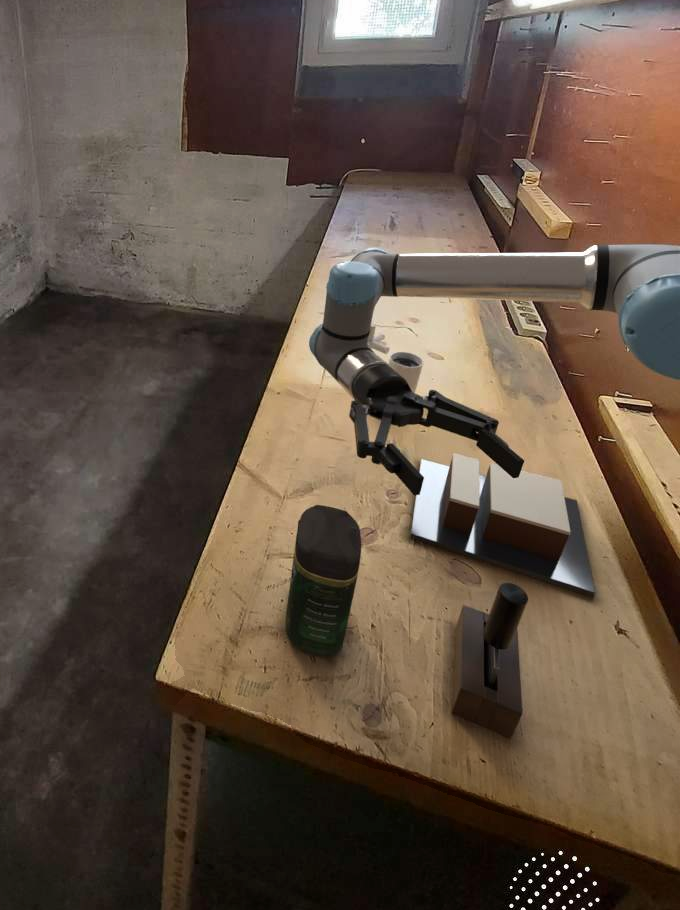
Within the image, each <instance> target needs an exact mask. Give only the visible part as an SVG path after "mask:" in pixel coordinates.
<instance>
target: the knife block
mask: <svg viewBox="0 0 680 910" xmlns="http://www.w3.org/2000/svg"><path fill="white" fill-rule="evenodd" d="M489 614H490V613H487V612H484V611H482V610H479V609H476V608H473V607H470V606H468V605H465V604H463V605H462V607H461V610H460V613H459V616H458V619H457V622H456V625H455V629H454V643H453V644H454V647H453V668H452V669H453V670H452V690H451V691H452V693H451V714H453V715H455V716H457V717H460V718H462V719H465V720H466V721H469V722H471V723H474V724H475V725H478V726H480V727H482V728H484V729H487V730H490V731H492V732H494V733H497V734H498V735H500V736H503V737H505V738H508V739H512V738H513V736H514V733H515V731H516V729H517V727H518V725H519V722H520V721H521V718H522V716H523V713H524V712H523V698H522V697H523V696H522V684H521V683H522V682H521V668H520V667H521V666H520V665H521V664H520V649H519V633H518V628H517V629H516V632H515V634H514V637H513V639H512V642H511V644H510V647H509V648H507V649H504V650H501V649H499V672H498V674H497V677H496V679H495V682H494V684H493V687H492V689H490V688H488V687H485V686H484V636H483V631H484V628H485V625H486V622H487V619H488V617H489Z"/></svg>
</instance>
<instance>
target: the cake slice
mask: <svg viewBox="0 0 680 910" xmlns="http://www.w3.org/2000/svg"><path fill="white" fill-rule="evenodd" d="M480 465H481V463H480V459H478V458H474V457H470V456H466V455H462V454H459V453H454V452H453V453H452V457H451V460H450V464H449V466H450V467H449V471H448V475H447V479H446V490H445V503H444V516H443V526H446V527H449V528H452V529H456V530H459V531H462V532H465V533H469V534H471V532H472V528H473V525H474V522H475V519H476V515H477V512H478V509H479V474H480Z"/></svg>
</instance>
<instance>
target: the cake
mask: <svg viewBox="0 0 680 910" xmlns="http://www.w3.org/2000/svg"><path fill="white" fill-rule="evenodd" d="M485 476H486V479H485V482H484V485H483V488H482V538H485V539H488V540H491V541H495V542H498V543H501V544H504V545H508V546H511V547H514V548H517V549H521V550H524V551H527V552H530V553H534V554H537V555H540V556H543V557H547V558H550V559H553V560H556V561H559V559H560V557H561V554H562V552H563V549H564V547H565V545H566V542H567V540H568V538H569V535H570V533H571V532H570V526H569V520H568V515H567V509H566V504H565V498H564V497H565V492H564V487H563V481H562V480H561V479H558V478H557V479H556V478H554V477H548V476H545V475H541V474H537V473H533V472H529V471H525V470H523V469H521V472H520V475H519V477H518V478H512V477H511V476H510V475H509V474H508V473H507V472H506V471H504V470H503V469H502V468H501V467H500V466H499V465H498V464H496V463H494V462H490V463H489V465H488V469H487V473H486V475H485Z"/></svg>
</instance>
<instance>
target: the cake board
mask: <svg viewBox="0 0 680 910" xmlns="http://www.w3.org/2000/svg"><path fill="white" fill-rule="evenodd" d="M449 467H450V465H446V464H442V463H438V462H434V461H430V460H427V459H422V458H421V459H420V462H419V470H418V471H419V472H420V474H421V475H422V476H423V477H424V480H423V484H422V488H421V492H420V495H415V496H414V497H415V498H414V504H413V511H412V512H413V513H412V517H411V525H410V532H409V538H410V539H412V540H415V541H418V542H421V543H424V544H427V545H431V546H433V547H436V548H439V549H443V550H446V551H449V552H452V553H454V554H458V555H461V556H464V557H467V558H470V559H474V560H476V561H479V562H482V563H486V564H489V565H492V566H495V567H498V568H500V569H505V570H508V571H511V572H513V573H517V574H520V575H522V576H526V577H529V578H532V579H534V580H537V581H541V582H545V583H548V584H551V585H554V586H557V587H560V588H563V589H566V590H569V591H572V592H574V593H578V594H582V595H585V596H588V597H591V598H594V597H595V595H596V593H597V592H596V588H595V583H594V578H593V573H592V568H591V563H590V558H589V554H588V549H587V544H586V538H585V533H584V529H583V524H582V519H581V513H580V509H579V504H578V500H577V499H575V498H571V497H566V496H564V498H565V504H566V509H567V515H568V520H569V526H570V532H571V533H570V535H569V538H568V540H567V542H566V545H565V547H564V549H563V552H562V554H561V557H560V559H559V561H556V560H553V559H550V558H547V557H543V556H540V555H537V554H534V553H530V552H527V551H524V550H521V549H517V548H514V547H511V546H508V545H504V544H501V543H498V542H495V541H491V540H488V539H485V538H482V488H483V485H484V482H485V479H486V475H484V474H480V473H479V509H478V512H477V515H476V519H475V522H474V525H473V528H472V532H471V534H469V533H465V532H462V531H459V530H456V529H452V528H449V527H446V526H443V516H444V503H445V490H446V479H447V475H448V471H449Z"/></svg>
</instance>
